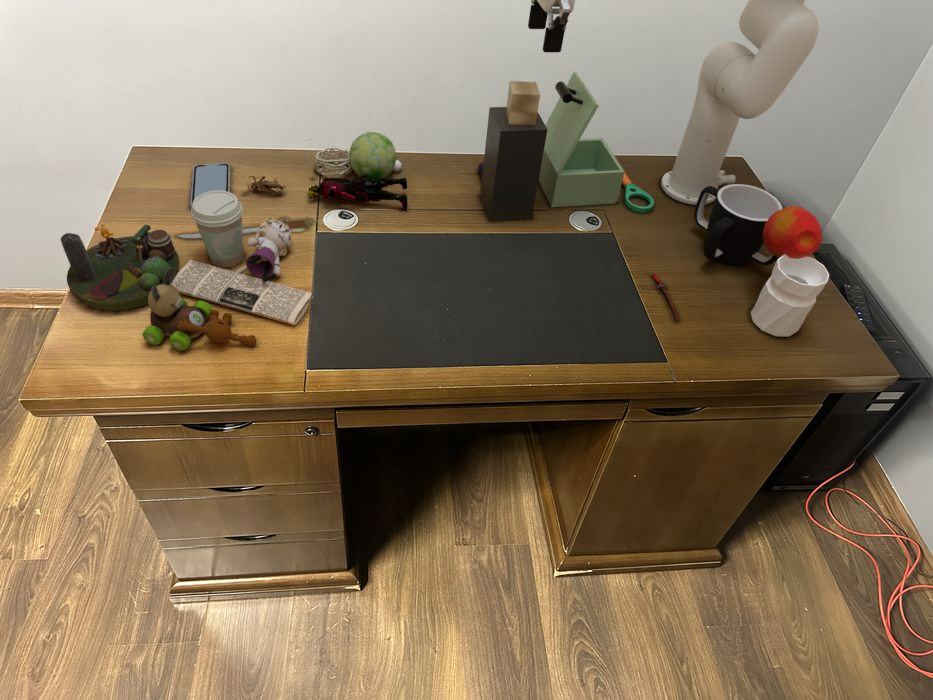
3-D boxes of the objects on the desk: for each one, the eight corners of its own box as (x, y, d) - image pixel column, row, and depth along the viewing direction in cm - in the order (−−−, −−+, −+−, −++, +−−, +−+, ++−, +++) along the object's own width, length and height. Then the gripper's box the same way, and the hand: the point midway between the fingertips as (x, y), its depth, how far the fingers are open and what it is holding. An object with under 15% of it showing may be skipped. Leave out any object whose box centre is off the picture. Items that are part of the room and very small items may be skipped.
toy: (253, 247, 114) (277, 203, 125) (206, 269, 117) (234, 225, 129) (284, 285, 118) (305, 239, 130) (238, 306, 122) (263, 260, 133)
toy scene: (76, 254, 124) (54, 204, 116) (181, 241, 128) (167, 192, 121) (66, 321, 112) (42, 271, 105) (183, 305, 117) (167, 255, 109)
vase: (759, 336, 122) (787, 285, 113) (744, 303, 128) (769, 252, 119) (806, 337, 123) (838, 287, 114) (789, 304, 129) (817, 253, 120)
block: (531, 112, 131) (536, 81, 127) (535, 125, 128) (540, 94, 124) (505, 111, 131) (509, 80, 127) (508, 124, 127) (512, 93, 123)
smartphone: (189, 207, 135) (193, 164, 144) (190, 210, 135) (194, 168, 145) (229, 204, 136) (229, 162, 146) (229, 208, 137) (230, 166, 146)
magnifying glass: (657, 211, 147) (659, 205, 146) (631, 214, 146) (633, 207, 144) (629, 173, 157) (631, 166, 156) (604, 174, 155) (606, 168, 154)
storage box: (595, 169, 157) (602, 137, 151) (616, 203, 148) (624, 171, 142) (534, 172, 154) (539, 140, 148) (551, 207, 145) (557, 175, 139)
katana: (660, 272, 131) (659, 274, 132) (651, 272, 131) (650, 274, 132) (682, 320, 123) (680, 322, 124) (673, 320, 123) (672, 323, 123)
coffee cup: (209, 277, 122) (195, 221, 114) (198, 249, 127) (183, 194, 119) (257, 265, 125) (247, 210, 117) (244, 238, 130) (233, 184, 122)
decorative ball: (359, 115, 141) (376, 137, 150) (332, 155, 141) (351, 175, 150) (396, 136, 138) (411, 157, 148) (369, 178, 138) (386, 196, 148)
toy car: (192, 354, 109) (175, 302, 101) (140, 342, 110) (120, 290, 102) (218, 315, 116) (205, 264, 108) (169, 305, 116) (152, 253, 108)
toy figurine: (260, 315, 115) (258, 336, 110) (254, 333, 117) (252, 355, 111) (185, 296, 111) (179, 318, 105) (180, 315, 112) (174, 337, 107)
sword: (178, 248, 127) (176, 232, 130) (178, 249, 127) (177, 233, 130) (313, 229, 134) (309, 214, 137) (314, 230, 134) (309, 215, 137)
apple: (830, 205, 113) (800, 196, 125) (774, 222, 115) (750, 211, 126) (838, 258, 116) (808, 244, 128) (784, 274, 118) (759, 259, 129)
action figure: (407, 188, 148) (313, 188, 147) (406, 161, 145) (310, 161, 143) (407, 219, 137) (305, 220, 135) (406, 191, 133) (301, 192, 132)
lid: (576, 72, 139) (554, 64, 137) (599, 105, 130) (576, 97, 128) (541, 139, 148) (520, 132, 146) (559, 173, 139) (537, 167, 137)
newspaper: (293, 320, 114) (294, 327, 115) (312, 292, 119) (313, 299, 120) (166, 285, 118) (169, 292, 119) (189, 259, 122) (192, 266, 123)
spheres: (365, 142, 158) (356, 143, 156) (366, 132, 156) (357, 133, 155) (402, 173, 150) (393, 174, 149) (404, 162, 149) (395, 163, 147)
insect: (280, 168, 137) (293, 182, 141) (243, 169, 139) (257, 182, 144) (275, 188, 135) (288, 201, 140) (238, 189, 138) (252, 201, 143)
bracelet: (314, 163, 150) (350, 161, 152) (318, 179, 144) (356, 177, 146) (312, 145, 148) (350, 144, 150) (317, 161, 142) (355, 159, 144)
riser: (520, 193, 148) (534, 105, 133) (532, 218, 142) (547, 129, 127) (480, 196, 146) (489, 107, 132) (489, 221, 140) (500, 131, 126)
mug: (773, 284, 132) (799, 233, 124) (689, 269, 134) (709, 218, 125) (763, 234, 144) (787, 185, 135) (686, 221, 145) (705, 171, 136)
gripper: (601, -51, 105) (578, 61, 117) (567, -85, 116) (550, 20, 128) (554, -52, 103) (536, 61, 115) (525, -87, 115) (511, 20, 127)
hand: (543, 39), depth 122 cm, fingers open, 9 cm apart
